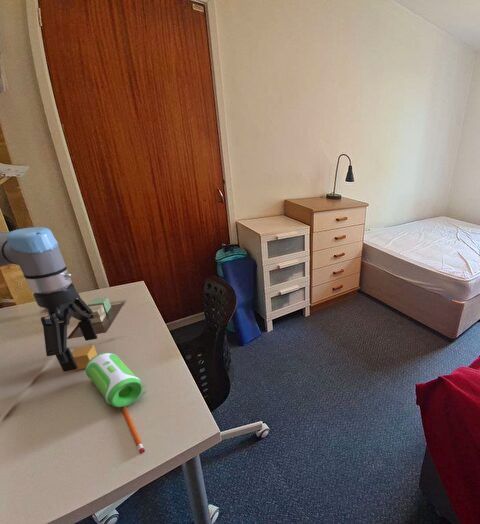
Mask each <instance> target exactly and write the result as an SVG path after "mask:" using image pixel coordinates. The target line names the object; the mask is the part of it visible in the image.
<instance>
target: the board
mask: <svg viewBox="0 0 480 524" xmlns="http://www.w3.org/2000/svg"><path fill="white" fill-rule="evenodd" d="M124 304H125V303H124V302H123V303H116V304H110V305H111V308H110V309H109V311H108V312H107V313H106V316H105V318H104V319H103V321H102V322H98V323H92V325H93V327H94V330H95V332H96V335H100V334H101V335H102V334H107V333H108V331H109V329H110V327H111V326H112V324H113V323H114V321H115V320H116V318H117V316H118V314H119V313H120V312H121V310H122V308H123V307H124ZM76 338H77V339H78V338H84V336H83V334H82V331H81V329H80V326H79V324H78V323H77V325H76V326H75V327H74V328H73V330H72V331H71V333H70V334H69V335H67V340H71V339H76Z"/></svg>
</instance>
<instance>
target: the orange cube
mask: <svg viewBox="0 0 480 524" xmlns="http://www.w3.org/2000/svg"><path fill="white" fill-rule="evenodd" d="M71 353H72V355H73V357H74V360H75V362H76V364H77V366H78V368H77V369H76V370H72V372H74V371H80V370H86V366H87V363H88V362H89V361H90V360H91V359H92V358H93V357H94V356H96V355H98V352H97V350H96V347H95V345H94V344H92V345H87V346H81V347H76V348H74V349H73V350H72V351H71Z"/></svg>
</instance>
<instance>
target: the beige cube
mask: <svg viewBox="0 0 480 524" xmlns="http://www.w3.org/2000/svg"><path fill="white" fill-rule="evenodd" d="M88 307H89V306H88ZM89 308H90V309H91V310H92V312H93V313H92V314H90V315H94V318H93V319H90V320H91V322H92V323H98V322H102V321H103V319H104V318H105V316H106V313H105V311H104V308H103V305H97V306H90V307H89Z"/></svg>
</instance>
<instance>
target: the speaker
mask: <svg viewBox="0 0 480 524" xmlns="http://www.w3.org/2000/svg"><path fill="white" fill-rule="evenodd" d="M85 374H86V376H87V378H88V379H90V381H91V382H92V383H93V385H94V386H95V387H96V388H97V389H98V391H99V392H100V394H101V395H102V396H103V398H104V399H105V403H107V404H108V405H110V406H112V407H115V408H121V407H124V406H125V407H127V406H129V405H131V404H133V403H135V402H136V401H137V400H138V398H140V396H141V394H142V392H143V383H142V381H141V379H140V378H139V377H138V376H136V374H134V372H133V371H132V370H130V368H129V367H128V366H127V364H125V363H124V362H123V361H122V360H121V358H120V356H118V355H117V354H114V353H111V352H101V353H97V355H96V356H94V357H93V358H92V359H91V360H90V361H89V362H88V363H87V366H86V368H85Z"/></svg>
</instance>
